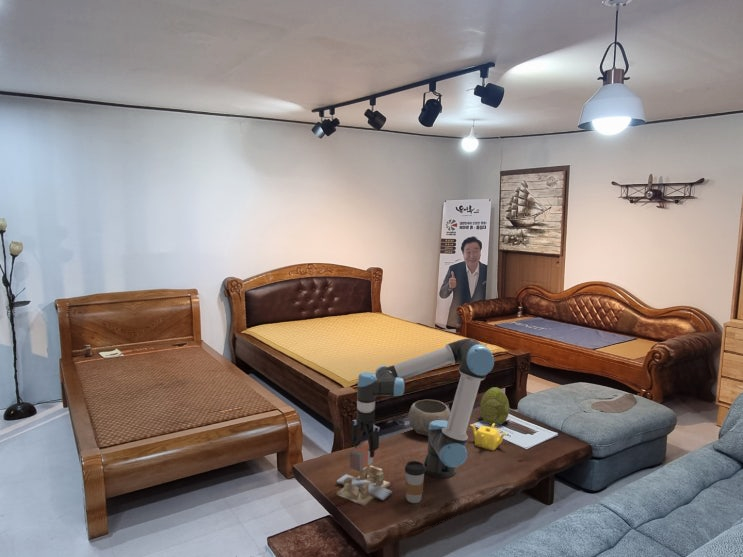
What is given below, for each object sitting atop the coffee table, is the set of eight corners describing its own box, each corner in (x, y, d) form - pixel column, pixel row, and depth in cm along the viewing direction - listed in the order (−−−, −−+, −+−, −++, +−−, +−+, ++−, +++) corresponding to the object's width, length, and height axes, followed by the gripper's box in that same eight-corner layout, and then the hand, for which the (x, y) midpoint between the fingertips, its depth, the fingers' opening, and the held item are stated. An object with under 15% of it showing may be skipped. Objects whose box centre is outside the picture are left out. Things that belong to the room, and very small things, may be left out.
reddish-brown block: (379, 457, 225) (379, 441, 224) (359, 471, 213) (360, 455, 212) (369, 453, 228) (369, 438, 227) (349, 467, 216) (349, 451, 215)
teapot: (506, 450, 262) (507, 432, 261) (480, 452, 259) (481, 434, 258) (493, 437, 276) (494, 420, 275) (468, 440, 273) (469, 422, 272)
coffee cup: (402, 493, 219) (403, 460, 217) (421, 493, 220) (423, 460, 218) (405, 505, 211) (406, 470, 209) (425, 504, 212) (426, 470, 210)
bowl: (405, 438, 273) (406, 411, 271) (409, 421, 295) (410, 395, 293) (450, 442, 269) (451, 415, 267) (450, 424, 292) (452, 399, 290)
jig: (399, 488, 224) (400, 475, 223) (374, 509, 207) (375, 495, 206) (354, 471, 237) (354, 459, 236) (327, 491, 220) (327, 477, 219)
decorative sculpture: (506, 428, 288) (508, 394, 285) (477, 423, 294) (479, 390, 291) (509, 418, 303) (512, 385, 301) (481, 413, 309) (483, 381, 306)
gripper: (389, 411, 215) (387, 464, 218) (353, 402, 225) (352, 452, 228) (379, 417, 209) (377, 471, 212) (343, 407, 219) (341, 459, 222)
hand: (364, 461), depth 220 cm, fingers closed on reddish-brown block, 5 cm apart
